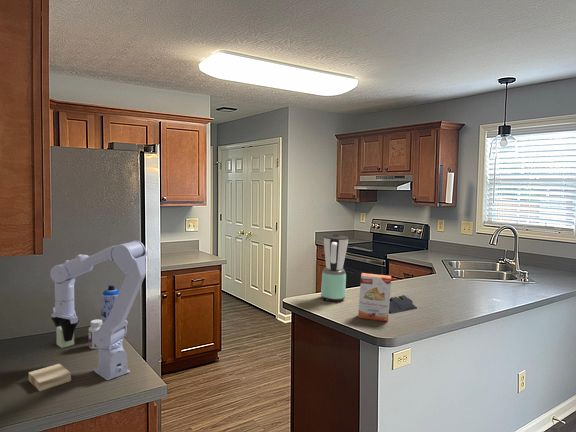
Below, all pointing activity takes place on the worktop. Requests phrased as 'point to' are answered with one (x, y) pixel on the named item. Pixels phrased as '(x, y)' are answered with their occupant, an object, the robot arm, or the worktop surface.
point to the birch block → (49, 377)
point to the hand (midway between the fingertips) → (65, 338)
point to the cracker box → (374, 297)
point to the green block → (62, 338)
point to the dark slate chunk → (400, 304)
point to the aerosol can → (108, 301)
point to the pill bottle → (94, 327)
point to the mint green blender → (334, 268)
